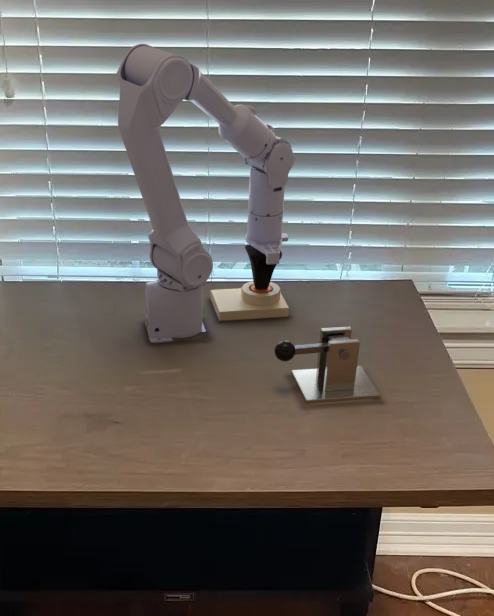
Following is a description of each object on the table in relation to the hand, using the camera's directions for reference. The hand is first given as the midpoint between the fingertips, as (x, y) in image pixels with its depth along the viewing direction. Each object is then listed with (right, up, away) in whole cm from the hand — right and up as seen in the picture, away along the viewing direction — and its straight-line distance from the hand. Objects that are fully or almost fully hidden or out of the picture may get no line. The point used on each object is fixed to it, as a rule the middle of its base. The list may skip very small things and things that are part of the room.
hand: (261, 287), depth 158 cm
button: (0, -1, +1) cm, 2 cm away
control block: (-2, -3, +2) cm, 4 cm away
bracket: (+9, -19, -21) cm, 30 cm away
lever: (+5, -15, -24) cm, 29 cm away
